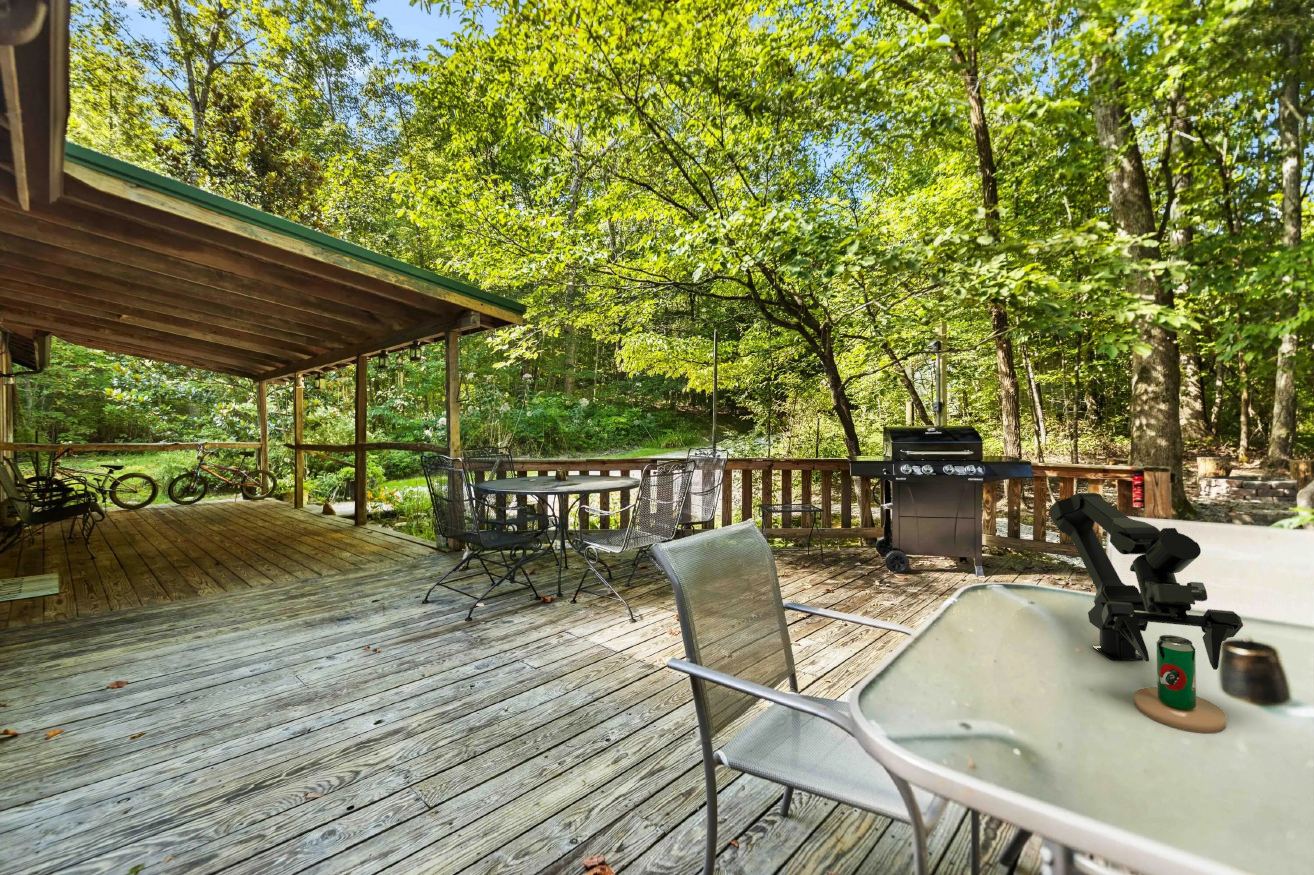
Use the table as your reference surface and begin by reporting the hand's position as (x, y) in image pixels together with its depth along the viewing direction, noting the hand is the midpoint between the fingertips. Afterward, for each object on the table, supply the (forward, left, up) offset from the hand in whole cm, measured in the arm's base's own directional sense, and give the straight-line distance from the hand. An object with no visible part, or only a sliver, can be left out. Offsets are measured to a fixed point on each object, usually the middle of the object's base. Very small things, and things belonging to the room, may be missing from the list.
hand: (1180, 664), depth 97 cm
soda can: (-1, 0, -8) cm, 8 cm away
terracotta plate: (-1, 0, -10) cm, 10 cm away
